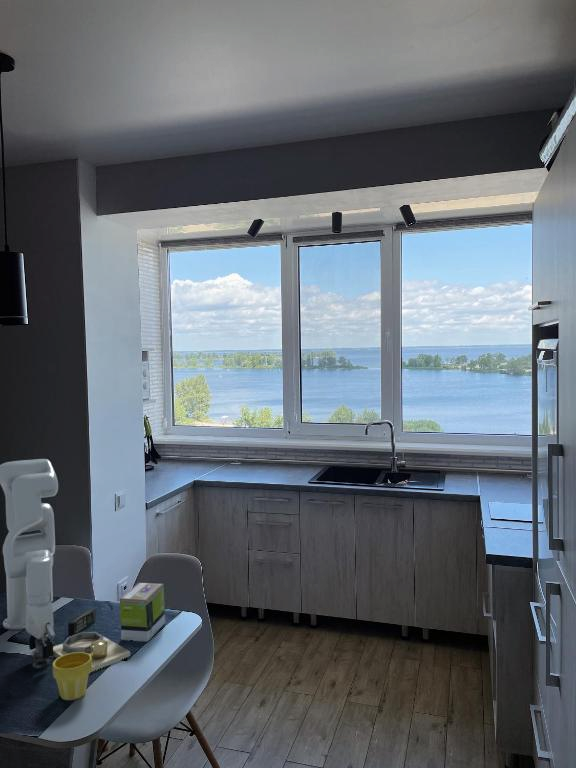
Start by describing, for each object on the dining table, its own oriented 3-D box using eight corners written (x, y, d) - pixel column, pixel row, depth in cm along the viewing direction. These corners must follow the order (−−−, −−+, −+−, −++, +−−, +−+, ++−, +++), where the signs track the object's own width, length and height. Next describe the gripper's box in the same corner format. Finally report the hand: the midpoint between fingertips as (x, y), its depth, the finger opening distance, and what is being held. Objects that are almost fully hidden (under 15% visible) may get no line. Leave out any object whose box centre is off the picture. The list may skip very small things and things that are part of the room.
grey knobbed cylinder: (44, 669, 183) (43, 630, 183) (27, 667, 184) (26, 629, 184) (55, 659, 189) (54, 622, 188) (38, 658, 190) (37, 621, 190)
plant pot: (64, 683, 174) (63, 650, 174) (98, 685, 173) (97, 651, 173) (46, 703, 164) (45, 668, 164) (82, 705, 163) (81, 670, 163)
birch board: (49, 652, 194) (49, 648, 193) (94, 635, 205) (94, 631, 205) (83, 675, 179) (83, 670, 179) (130, 656, 190) (130, 651, 190)
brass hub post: (87, 656, 188) (87, 643, 188) (102, 650, 191) (102, 638, 191) (96, 661, 184) (95, 648, 184) (110, 655, 188) (110, 642, 188)
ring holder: (57, 646, 194) (57, 640, 194) (90, 634, 203) (90, 628, 203) (75, 658, 186) (75, 651, 186) (108, 645, 195) (108, 639, 195)
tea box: (139, 621, 216) (139, 581, 216) (165, 623, 214) (165, 583, 214) (120, 640, 202) (119, 597, 201) (147, 642, 200) (146, 599, 199)
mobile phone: (73, 623, 205) (99, 605, 219) (66, 622, 206) (92, 604, 220) (73, 637, 205) (99, 618, 220) (66, 636, 206) (92, 617, 221)
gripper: (15, 594, 189) (17, 648, 189) (40, 608, 177) (42, 666, 178) (39, 587, 194) (40, 640, 195) (64, 600, 183) (66, 657, 183)
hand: (41, 652), depth 186 cm, fingers open, 8 cm apart
